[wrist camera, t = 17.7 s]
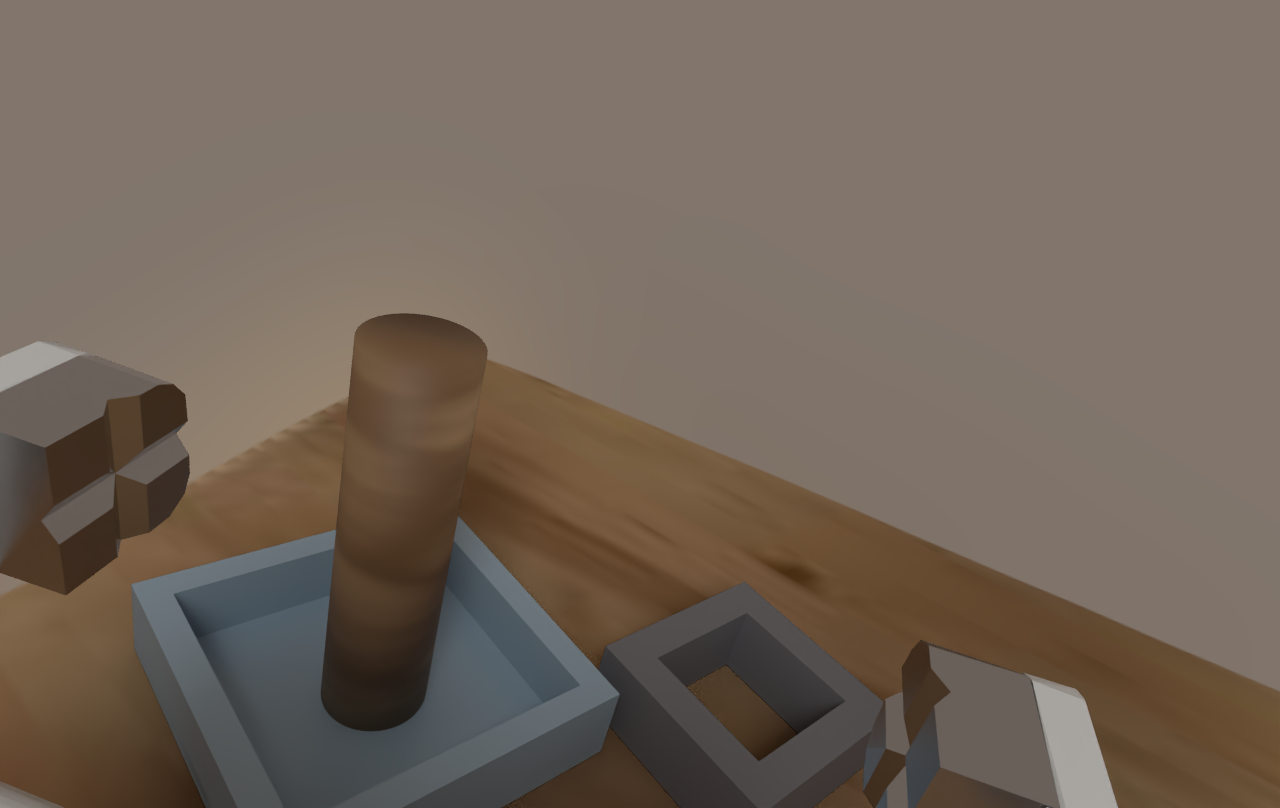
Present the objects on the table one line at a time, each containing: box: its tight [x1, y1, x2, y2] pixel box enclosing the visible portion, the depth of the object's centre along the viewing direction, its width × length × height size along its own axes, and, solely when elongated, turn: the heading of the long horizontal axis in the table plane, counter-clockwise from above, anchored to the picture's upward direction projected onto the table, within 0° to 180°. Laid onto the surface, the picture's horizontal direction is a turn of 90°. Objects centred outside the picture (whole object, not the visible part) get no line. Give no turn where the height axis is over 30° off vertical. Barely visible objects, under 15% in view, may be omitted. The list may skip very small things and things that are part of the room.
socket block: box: [598, 582, 884, 808], centre depth 33 cm, size 8×8×3 cm
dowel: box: [321, 314, 487, 732], centre depth 27 cm, size 4×4×14 cm
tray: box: [131, 516, 620, 808], centre depth 30 cm, size 12×12×3 cm
